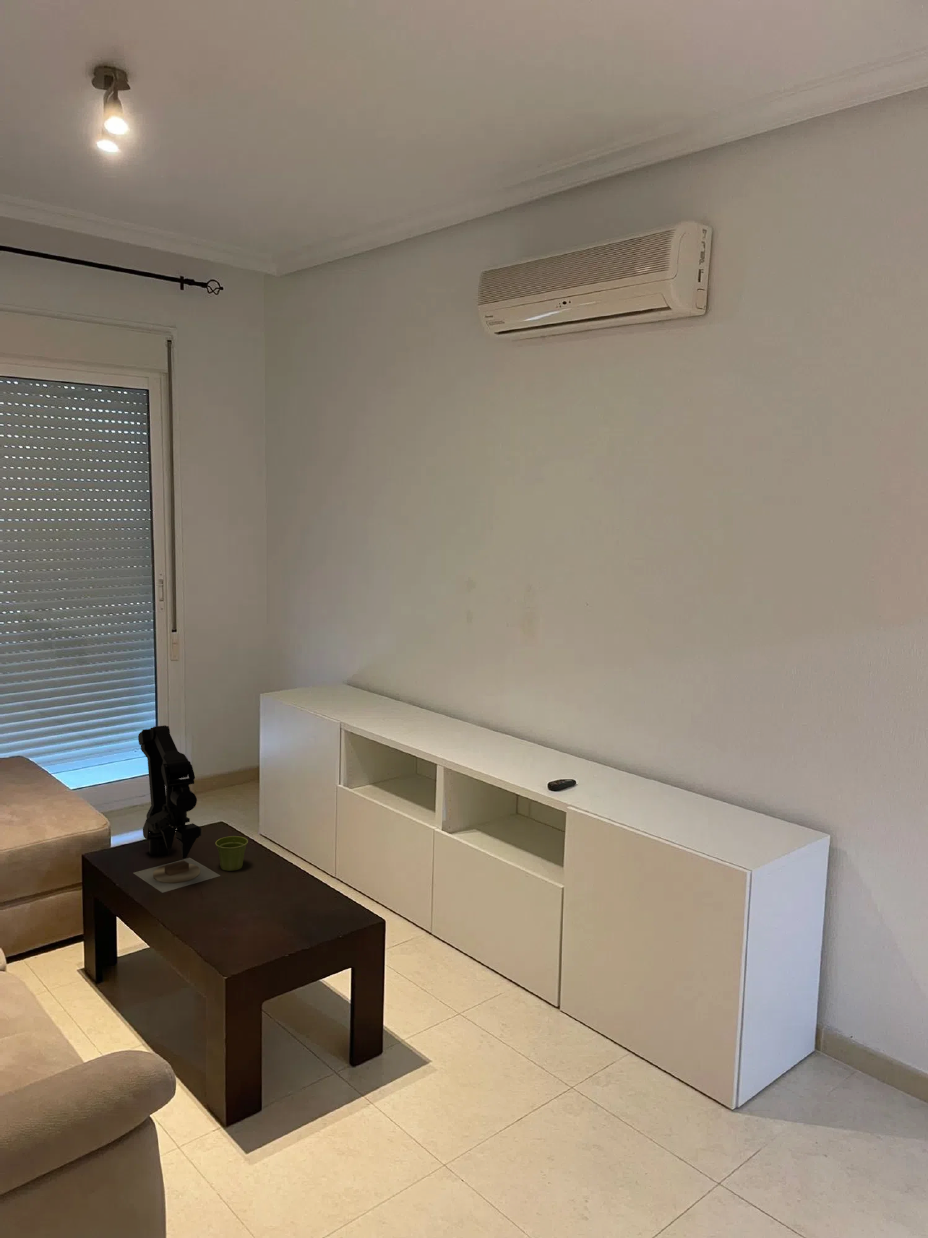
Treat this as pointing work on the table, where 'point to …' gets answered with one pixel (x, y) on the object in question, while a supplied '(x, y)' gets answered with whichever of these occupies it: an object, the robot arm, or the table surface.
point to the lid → (176, 872)
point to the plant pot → (231, 852)
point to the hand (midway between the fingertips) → (176, 853)
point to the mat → (164, 887)
